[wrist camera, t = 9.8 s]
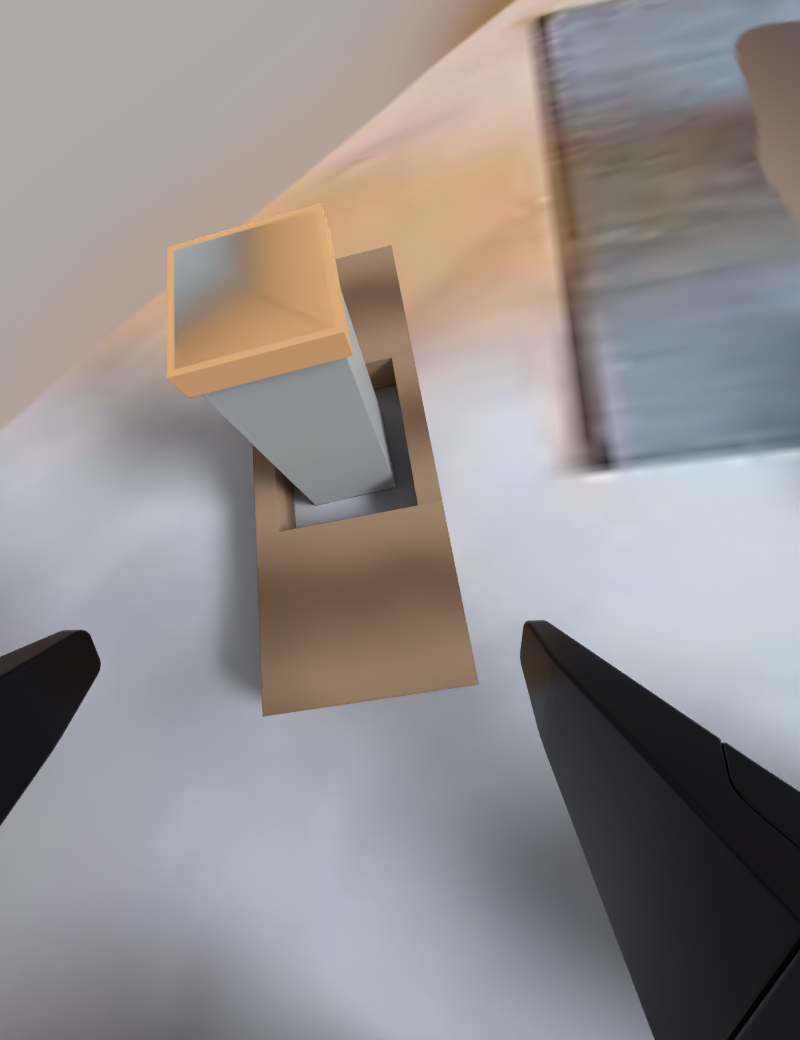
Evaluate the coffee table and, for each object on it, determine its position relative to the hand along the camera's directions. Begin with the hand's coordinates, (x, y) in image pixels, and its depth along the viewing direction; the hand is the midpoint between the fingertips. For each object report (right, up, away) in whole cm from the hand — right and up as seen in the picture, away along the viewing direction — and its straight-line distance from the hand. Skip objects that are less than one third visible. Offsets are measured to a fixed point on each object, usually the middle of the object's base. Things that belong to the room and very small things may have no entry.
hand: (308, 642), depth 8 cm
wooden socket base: (-1, +6, +11) cm, 12 cm away
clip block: (-1, +6, +11) cm, 13 cm away
